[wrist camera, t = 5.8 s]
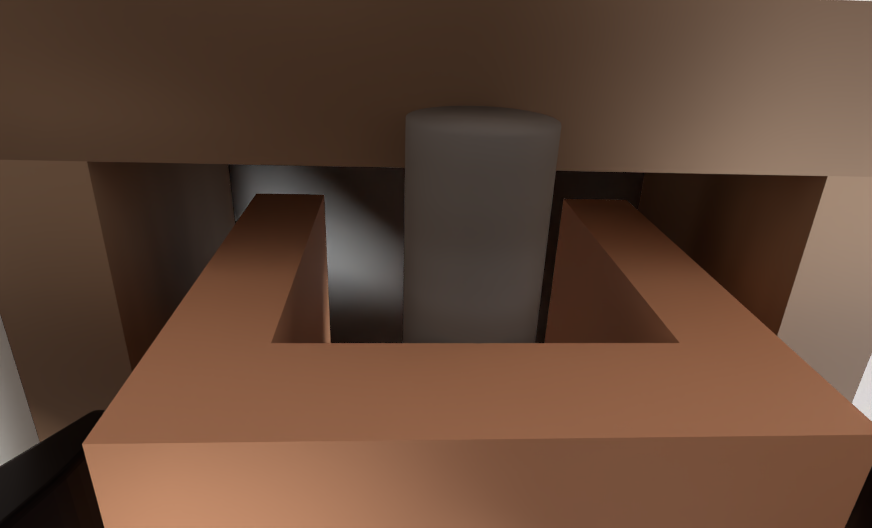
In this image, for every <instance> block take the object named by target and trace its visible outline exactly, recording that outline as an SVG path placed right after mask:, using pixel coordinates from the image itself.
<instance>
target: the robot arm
mask: <svg viewBox="0 0 872 528" xmlns="http://www.w3.org/2000/svg"><path fill="white" fill-rule="evenodd" d="M104 412H105V410H94V411H92V412H90V413H88V414H86V415H84V416H83V417H81V418H80V419H78V420H76V421H75V422H73V423H71V424H70V425H68V426H66V427H65V428H63V429H61V430H60V431H58V432H56V433H55V434H53V435H51V436H50V437H48V438H46V439H45V440H43V441H41V442H40V443H38V444H36V445H35V446H33V447H31V448H30V449H28V450H27V451H25V452H23V453H22V454H20V455H18V456H17V457H15V458H13V459H12V460H10V461H8V462H7V463H5V464H3V465H2V466H0V528H104V524H103V521H102V517H101V513H100V509H99V506H98V502H97V498H96V494H95V491H94V487H93V483H92V479H91V476H90V472H89V468H88V465H87V461H86V457H85V453H84V450H83V446H82V443H83V442H84V441H85V439H86V438H87V436H88V435H89V433H90V432H91V431H92V429H93V428H94V426H95V425H96V423H97V422H98V421H99V419H100V418H101V416H102V415H103V413H104ZM845 528H872V467H871V469H870V471H869V474H868V476H867V478H866V480H865V483H864V485H863V487H862V489H861V492H860V494H859V496H858V498H857V501H856V503H855V505H854V507H853V510H852V512H851V514H850V516H849V519H848V521H847V523H846V525H845Z"/></svg>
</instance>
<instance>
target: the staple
mask: <svg viewBox="0 0 872 528" xmlns="http://www.w3.org/2000/svg"><path fill="white" fill-rule="evenodd" d="M82 446H83V450H84V453H85V457H86V461H87V465H88V468H89V472H90V476H91V479H92V483H93V487H94V491H95V494H96V498H97V502H98V506H99V509H100V513H101V517H102V521H103V524H104V528H845V525H846V523H847V521H848V519H849V516H850V514H851V512H852V510H853V507H854V505H855V503H856V501H857V498H858V496H859V494H860V492H861V489H862V487H863V485H864V483H865V480H866V478H867V476H868V474H869V471H870V469H871V467H872V422H871V421H870V420H869V419H868V418H867V417H866V416H865V415H864V414H863V413H862V412H860V411H859V410H858V409H857V408H856V407H855V406H854V405H853V404H852V403H850V402H849V401H848V400H847V399H846V398H845V397H844V396H843V395H842V394H841V393H839V392H838V391H837V390H836V389H835V388H834V387H833V386H832V385H831V384H829V383H828V382H827V381H826V380H825V379H824V378H823V377H822V376H821V375H820V374H818V373H817V372H816V371H815V370H814V369H813V368H812V367H811V366H810V365H808V364H807V363H806V362H805V361H804V360H803V359H802V358H801V357H800V356H799V355H797V354H796V353H795V352H794V351H793V350H792V349H791V348H790V347H789V346H787V345H786V344H785V343H784V342H783V341H782V340H781V339H780V338H779V337H778V336H776V335H775V334H774V333H773V332H772V331H771V330H770V329H769V328H768V327H766V326H765V325H764V324H763V323H762V322H761V321H760V320H759V319H758V318H757V317H755V316H754V315H753V314H752V313H751V312H750V311H749V310H748V309H747V308H745V307H744V306H743V305H742V304H741V303H740V302H739V301H738V300H737V299H736V298H734V297H733V296H732V295H731V294H730V293H729V292H728V291H727V290H726V289H724V288H723V287H722V286H721V285H720V284H719V283H718V282H717V281H716V280H715V279H713V278H712V277H711V276H710V275H709V274H708V273H707V272H706V271H705V270H703V269H702V268H701V267H700V266H699V265H698V264H697V263H696V262H695V261H694V260H692V259H691V258H690V257H689V256H688V255H687V254H686V253H685V252H684V251H682V250H681V249H680V248H679V247H678V246H677V245H676V244H675V243H674V242H673V241H671V240H670V239H669V238H668V237H667V236H666V235H665V234H664V233H663V232H661V231H660V230H659V229H658V228H657V227H656V226H655V225H654V224H653V223H652V222H650V221H649V220H648V219H647V218H646V217H645V216H644V215H643V214H642V213H640V212H639V211H638V210H637V209H636V208H635V207H634V206H633V205H632V204H631V203H629V202H628V201H627V200H611V199H563V206H562V213H561V221H560V229H559V236H558V244H557V251H556V259H555V267H554V274H553V282H552V289H551V297H550V305H549V312H548V320H547V327H546V335H545V343H331V341H330V318H329V295H328V271H327V248H326V225H325V202H324V195H310V194H256V195H255V197H254V198H253V199H252V201H251V202H250V204H249V205H248V207H247V208H246V209H245V211H244V212H243V214H242V215H241V217H240V218H239V220H238V221H237V222H236V224H235V225H234V227H233V228H232V230H231V231H230V232H229V234H228V235H227V237H226V238H225V240H224V241H223V243H222V244H221V245H220V247H219V248H218V250H217V251H216V253H215V254H214V255H213V257H212V258H211V260H210V261H209V263H208V264H207V265H206V267H205V268H204V270H203V271H202V273H201V274H200V276H199V277H198V278H197V280H196V281H195V283H194V284H193V286H192V287H191V288H190V290H189V291H188V293H187V294H186V296H185V297H184V298H183V300H182V301H181V303H180V304H179V306H178V307H177V309H176V310H175V311H174V313H173V314H172V316H171V317H170V319H169V320H168V321H167V323H166V324H165V326H164V327H163V329H162V330H161V332H160V333H159V334H158V336H157V337H156V339H155V340H154V342H153V343H152V344H151V346H150V347H149V349H148V350H147V352H146V353H145V354H144V356H143V357H142V359H141V360H140V362H139V363H138V365H137V366H136V367H135V369H134V370H133V372H132V373H131V375H130V376H129V377H128V379H127V380H126V382H125V383H124V385H123V386H122V387H121V389H120V390H119V392H118V393H117V395H116V396H115V398H114V399H113V400H112V402H111V403H110V405H109V406H108V408H107V409H106V410H105V412H104V413H103V415H102V416H101V418H100V419H99V421H98V422H97V423H96V425H95V426H94V428H93V429H92V431H91V432H90V433H89V435H88V436H87V438H86V439H85V441H84V442H83V443H82Z"/></svg>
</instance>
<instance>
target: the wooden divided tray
mask: <svg viewBox="0 0 872 528" xmlns="http://www.w3.org/2000/svg"><path fill="white" fill-rule="evenodd" d="M228 164H243V165H294V166H344V167H395V168H405V207H404V289H403V343H535V340H536V332H537V324H538V315H539V307H540V299H541V290H542V282H543V274H544V266H545V257H546V249H547V241H548V232H549V224H550V216H551V207H552V199H553V191H554V183H555V174H556V171H597V172H645V174H644V179H643V185H642V190H641V196H640V201H639V206H638V211H639V212H640V213H642V214H643V215H644V216H645V217H646V218H647V219H648V220H649V221H650V222H652V223H653V224H654V225H655V226H656V227H657V228H658V229H659V230H660V231H661V232H663V233H664V234H665V235H666V236H667V237H668V238H669V239H670V240H671V241H673V242H674V243H675V244H676V245H677V246H678V247H679V248H680V249H681V250H682V251H684V252H685V253H686V254H687V255H688V256H689V257H690V258H691V259H692V260H694V261H695V262H696V263H697V264H698V265H699V266H700V267H701V268H702V269H703V270H705V271H706V272H707V273H708V274H709V275H710V276H711V277H712V278H713V279H715V280H716V281H717V282H718V283H719V284H720V285H721V286H722V287H723V288H724V289H726V290H727V291H728V292H729V293H730V294H731V295H732V296H733V297H734V298H736V299H737V300H738V301H739V302H740V303H741V304H742V305H743V306H744V307H745V308H747V309H748V310H749V311H750V312H751V313H752V314H753V315H754V316H755V317H757V318H758V319H759V320H760V321H761V322H762V323H763V324H764V325H765V326H766V327H768V328H769V329H770V330H771V331H772V332H773V333H774V334H775V335H776V336H778V337H779V338H780V339H781V340H782V341H783V342H784V343H785V344H786V345H787V346H789V347H790V348H791V349H792V350H793V351H794V352H795V353H796V354H797V355H799V356H800V357H801V358H802V359H803V360H804V361H805V362H806V363H807V364H808V365H810V366H811V367H812V368H813V369H814V370H815V371H816V372H817V373H818V374H820V375H821V376H822V377H823V378H824V379H825V380H826V381H827V382H828V383H829V384H831V385H832V386H833V387H834V388H835V389H836V390H837V391H838V392H839V393H841V394H842V395H843V396H844V397H845V398H846V399H847V400H848V401H849V402H850V403H852V401H853V399H854V396H855V394H856V391H857V389H858V386H859V383H860V381H861V378H862V376H863V373H864V371H865V368H866V366H867V363H868V361H869V358H870V356H871V353H872V1H848V0H0V315H1V318H2V321H3V324H4V328H5V331H6V334H7V337H8V341H9V344H10V347H11V350H12V353H13V357H14V360H15V363H16V366H17V370H18V373H19V376H20V379H21V383H22V386H23V389H24V392H25V395H26V399H27V402H28V405H29V408H30V412H31V415H32V418H33V421H34V424H35V428H36V431H37V434H38V437H39V441H40V442H41V441H43V440H45V439H46V438H48V437H50V436H51V435H53V434H55V433H56V432H58V431H60V430H61V429H63V428H65V427H66V426H68V425H70V424H71V423H73V422H75V421H76V420H78V419H80V418H81V417H83V416H84V415H86V414H88V413H90V412H92V411H94V410H106V409H107V408H108V406H109V405H110V403H111V402H112V400H113V399H114V398H115V396H116V395H117V393H118V392H119V390H120V389H121V387H122V386H123V385H124V383H125V382H126V380H127V379H128V377H129V376H130V375H131V373H132V372H133V370H134V369H135V367H136V366H137V365H138V363H139V362H140V360H141V359H142V357H143V356H144V354H145V353H146V352H147V350H148V349H149V347H150V346H151V344H152V343H153V342H154V340H155V339H156V337H157V336H158V334H159V333H160V332H161V330H162V329H163V327H164V326H165V324H166V323H167V321H168V320H169V319H170V317H171V316H172V314H173V313H174V311H175V310H176V309H177V307H178V306H179V304H180V303H181V301H182V300H183V298H184V297H185V296H186V294H187V293H188V291H189V290H190V288H191V287H192V286H193V284H194V283H195V281H196V280H197V278H198V277H199V276H200V274H201V273H202V271H203V270H204V268H205V267H206V265H207V264H208V263H209V261H210V260H211V258H212V257H213V255H214V254H215V253H216V251H217V250H218V248H219V247H220V245H221V244H222V243H223V241H224V240H225V238H226V237H227V235H228V234H229V232H230V231H231V230H232V228H233V227H234V225H235V219H234V210H233V201H232V193H231V184H230V175H229V166H228Z"/></svg>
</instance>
